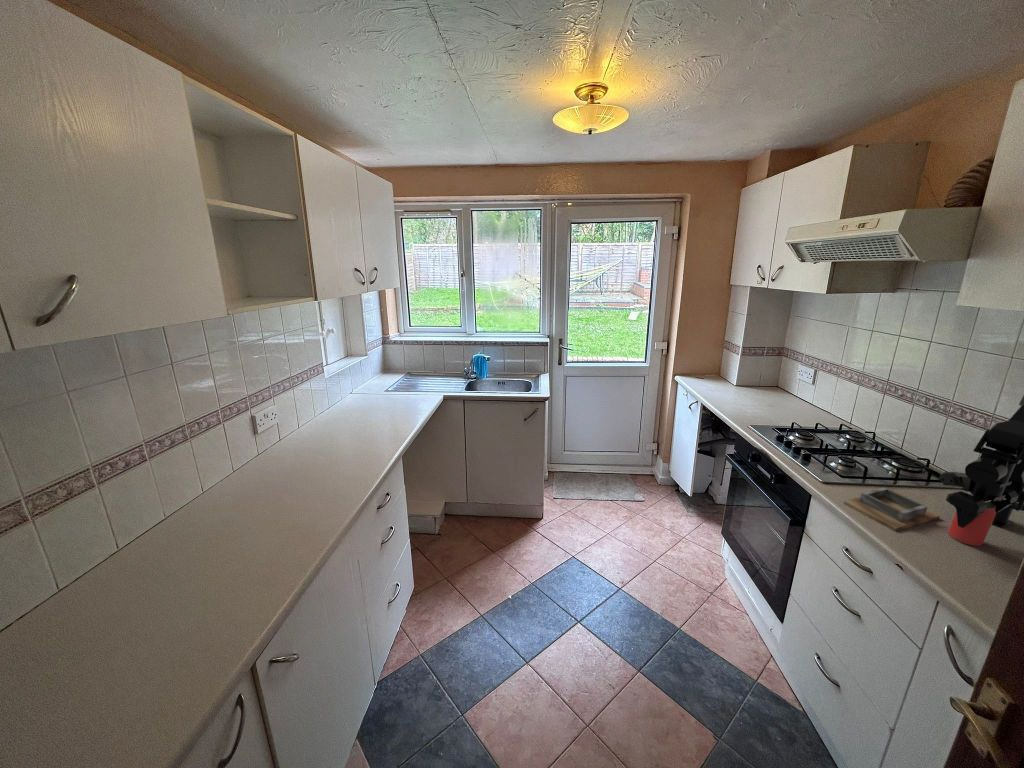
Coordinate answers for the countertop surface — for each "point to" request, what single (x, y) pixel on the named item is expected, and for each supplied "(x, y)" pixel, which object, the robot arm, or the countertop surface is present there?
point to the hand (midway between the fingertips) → (970, 523)
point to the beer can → (974, 527)
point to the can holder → (891, 509)
